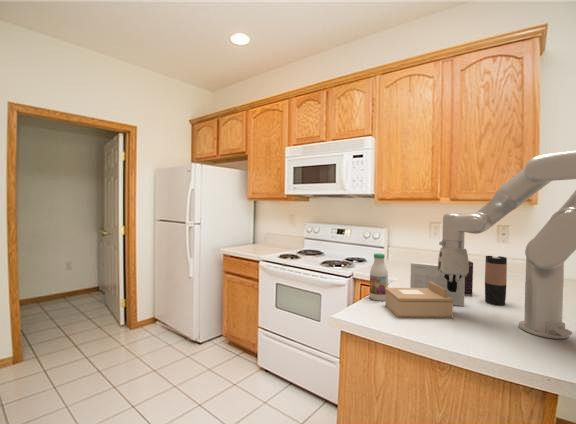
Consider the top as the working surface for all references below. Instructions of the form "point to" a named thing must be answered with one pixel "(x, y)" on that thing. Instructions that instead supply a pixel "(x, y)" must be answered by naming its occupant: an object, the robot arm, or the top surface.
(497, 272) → the travel mug
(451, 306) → the mailer box
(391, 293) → the lid
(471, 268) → the supplement box
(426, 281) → the skincare box
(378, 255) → the milk bottle
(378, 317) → the top surface
